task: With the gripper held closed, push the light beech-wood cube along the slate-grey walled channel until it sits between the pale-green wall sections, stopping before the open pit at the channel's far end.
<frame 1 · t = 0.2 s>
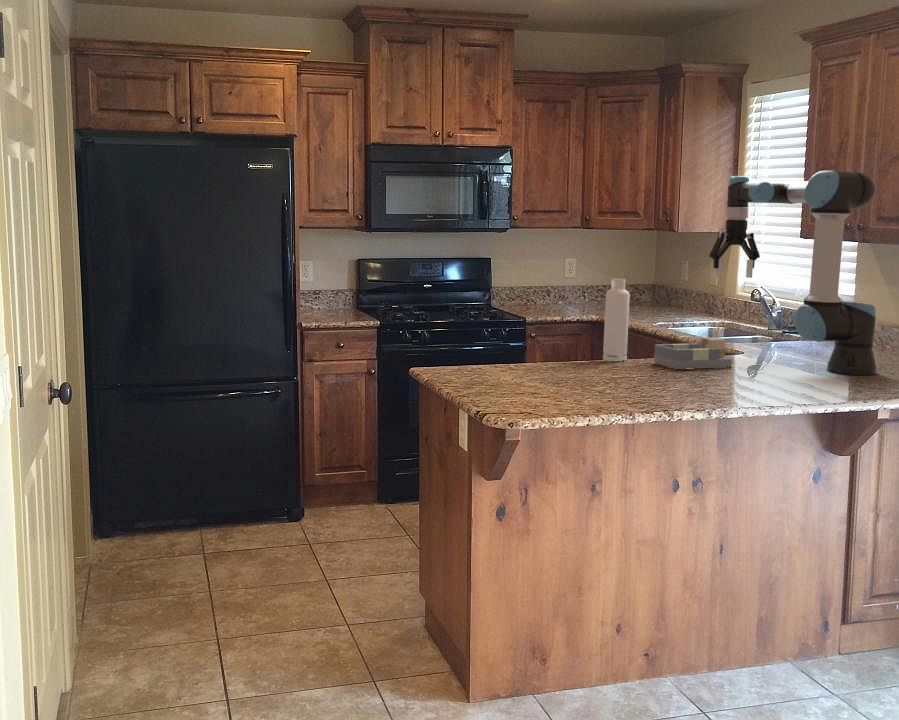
hand: (733, 277, 360), 28 cm above the worktop, fingers open, 13 cm apart
block: (711, 356, 332), point 3 cm above the worktop, touching grey tray
grey tray: (692, 365, 330), on the worktop
bottle: (614, 360, 339), on the worktop
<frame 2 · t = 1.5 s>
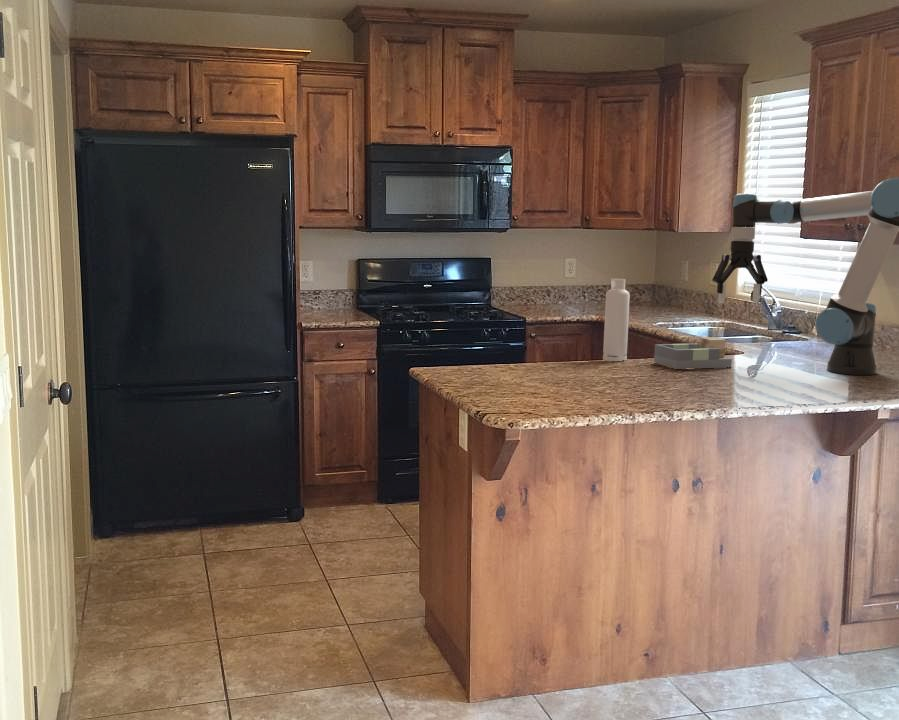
hand: (738, 303, 333), 21 cm above the worktop, fingers open, 13 cm apart
nothing on the worktop moved.
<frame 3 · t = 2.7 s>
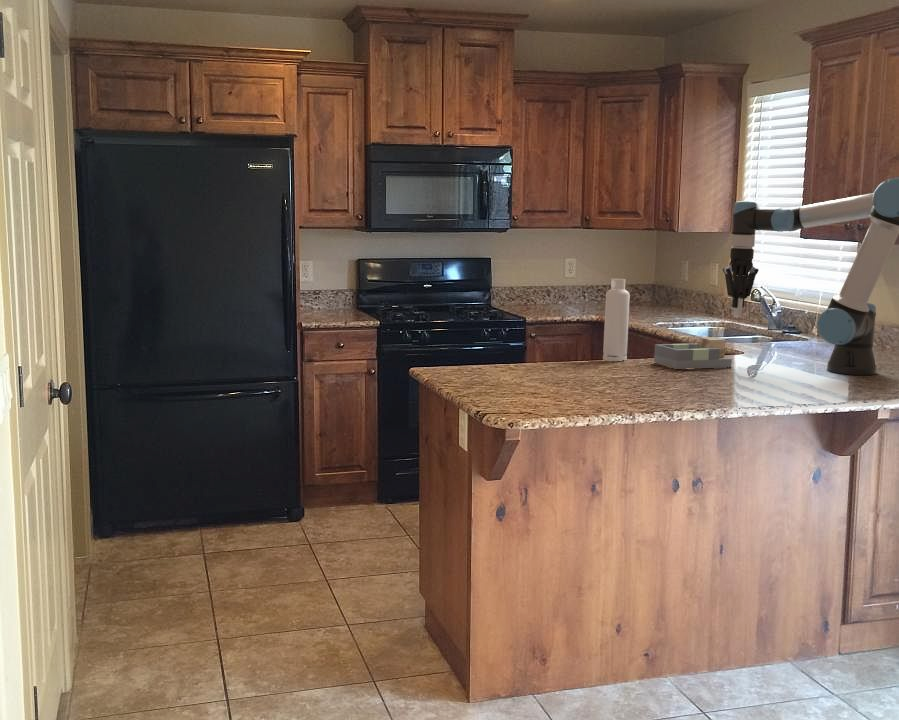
hand: (737, 317, 333), 16 cm above the worktop, fingers closed
nothing on the worktop moved.
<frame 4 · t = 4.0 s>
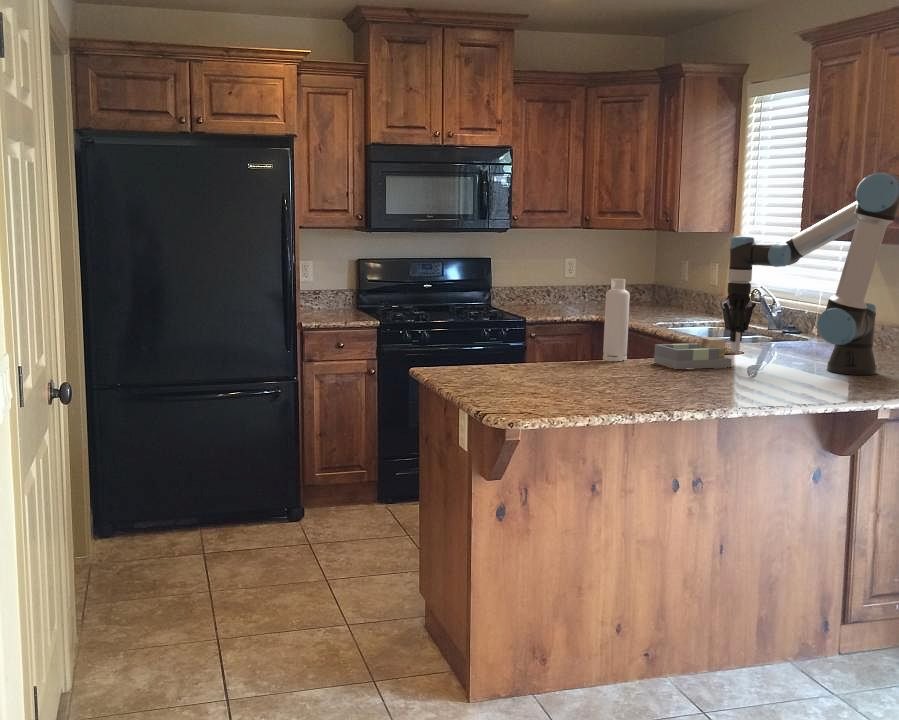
hand: (735, 351, 335), 4 cm above the worktop, fingers closed
nothing on the worktop moved.
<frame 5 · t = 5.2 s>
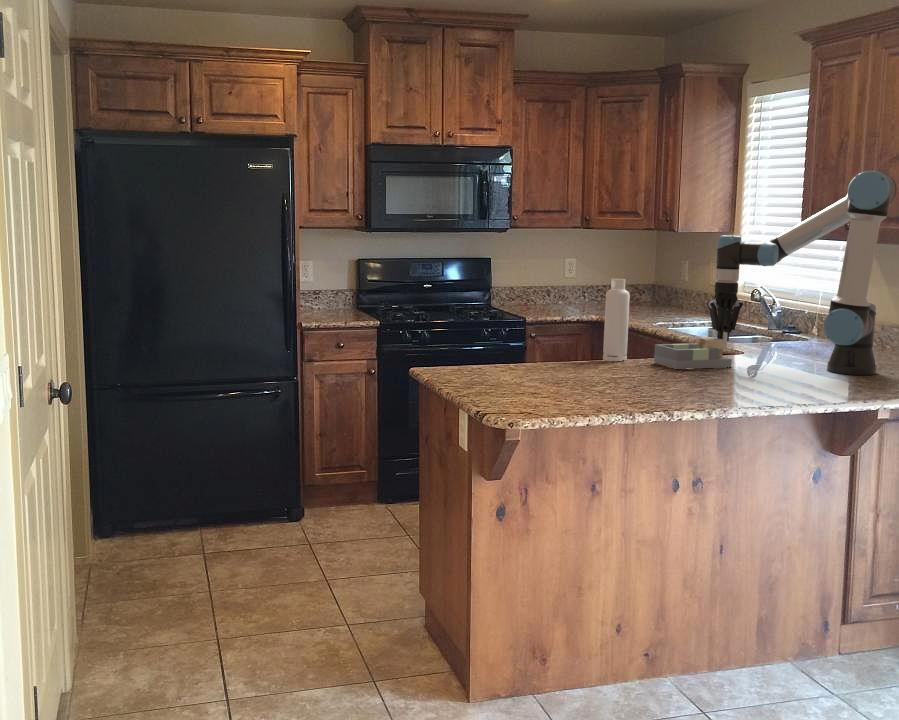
hand: (722, 350, 333), 5 cm above the worktop, fingers closed
block: (709, 356, 332), point 3 cm above the worktop, touching gripper
everything else where it was.
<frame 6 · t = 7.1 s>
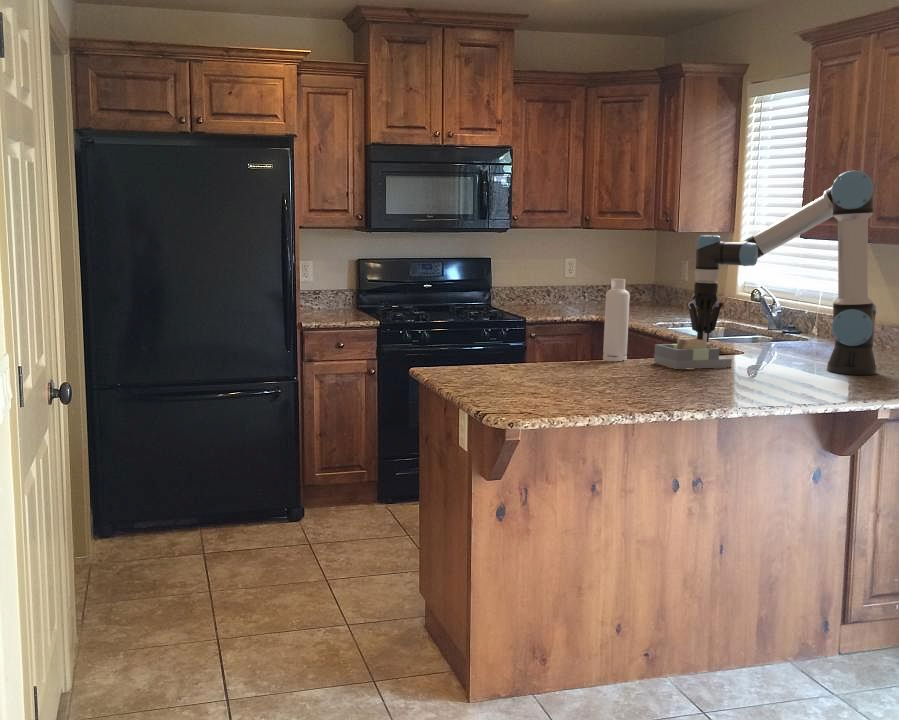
hand: (702, 351, 331), 5 cm above the worktop, fingers closed
block: (689, 356, 329), point 3 cm above the worktop, touching grey tray, gripper
everything else where it was.
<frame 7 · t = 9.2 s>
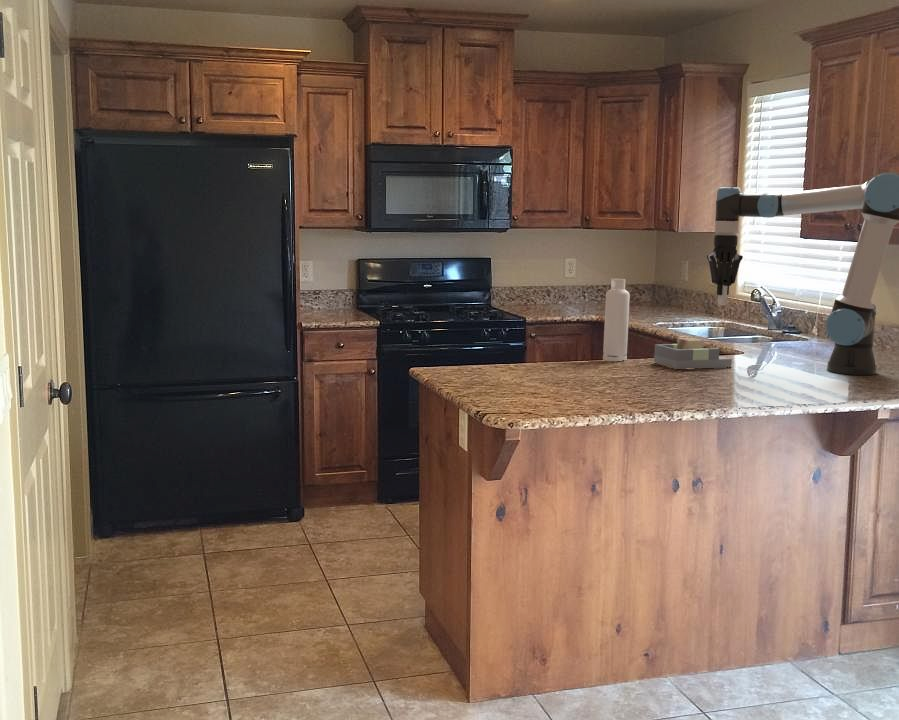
hand: (722, 304, 330), 20 cm above the worktop, fingers closed
block: (689, 356, 329), point 3 cm above the worktop, touching grey tray
everything else where it was.
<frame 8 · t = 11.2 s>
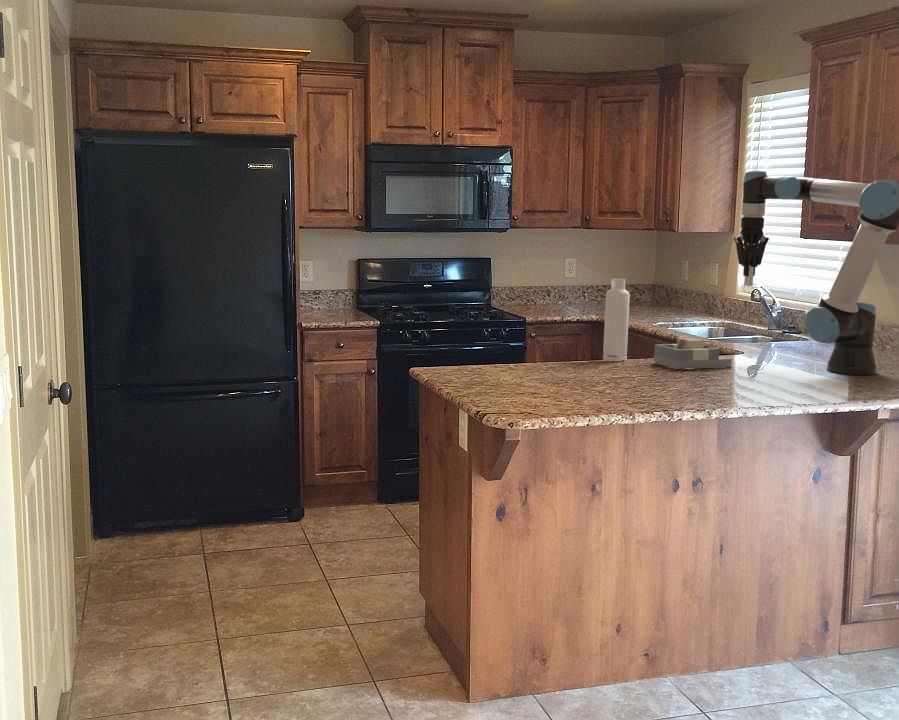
hand: (748, 285, 338), 26 cm above the worktop, fingers closed
nothing on the worktop moved.
at the end: block inside the target area on the grey tray (0.3 cm from its centre), point 3.0 cm above the grey tray's base; block tilted 0° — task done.
